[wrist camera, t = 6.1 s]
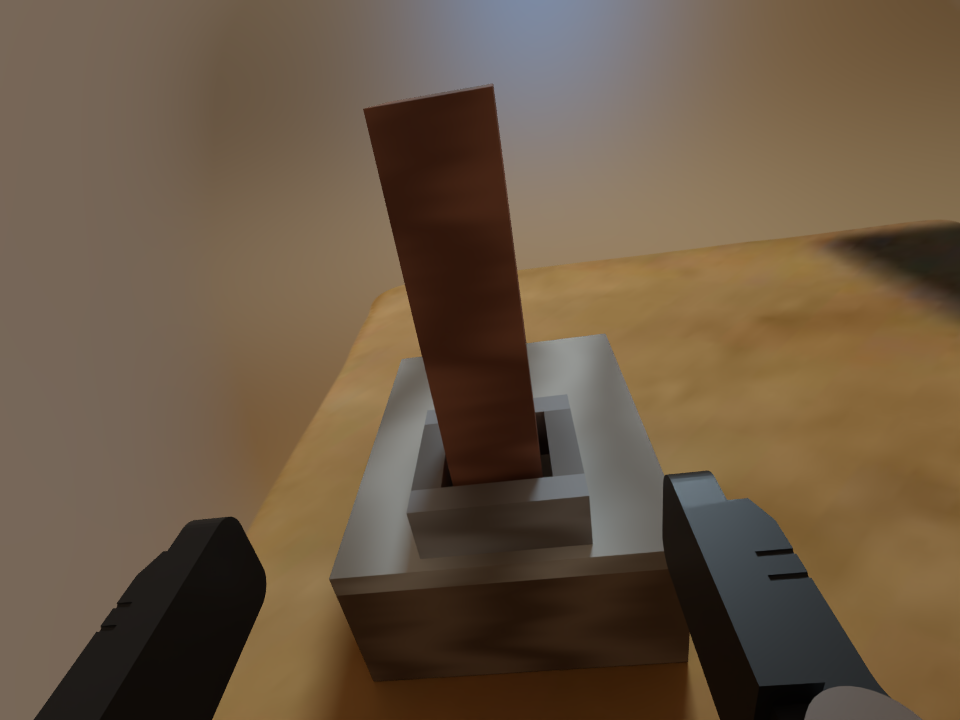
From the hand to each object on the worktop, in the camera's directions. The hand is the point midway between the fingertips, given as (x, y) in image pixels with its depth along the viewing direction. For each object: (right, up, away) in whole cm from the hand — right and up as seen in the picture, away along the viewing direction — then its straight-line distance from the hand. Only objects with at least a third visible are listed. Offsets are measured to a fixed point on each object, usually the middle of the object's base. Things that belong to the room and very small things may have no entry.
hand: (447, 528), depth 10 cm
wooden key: (+2, -3, +14) cm, 14 cm away
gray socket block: (+3, -6, +21) cm, 22 cm away
